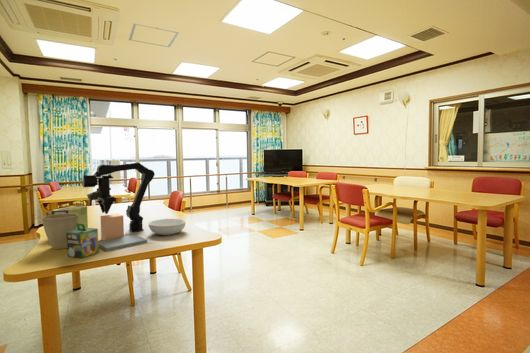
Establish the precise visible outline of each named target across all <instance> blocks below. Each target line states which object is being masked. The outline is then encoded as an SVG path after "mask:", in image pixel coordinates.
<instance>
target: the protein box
mask: <svg viewBox="0 0 530 353" xmlns="http://www.w3.org/2000/svg"><path fill="white" fill-rule="evenodd" d="M65 213H76V214H78V220H77V223H79V224H84V226H85V228H89V223H88V222H89V220H88V206H83V205H79V206H78V205H77V206H76V205H74V206H73V205H71V206H67V207H61V208H57V209H53V210H51V215H54V214H65ZM79 227H80V228H83V227H82V226H79ZM76 229H78V228H77V226H76Z"/></svg>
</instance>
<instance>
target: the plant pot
mask: <svg viewBox="0 0 530 353" xmlns="http://www.w3.org/2000/svg"><path fill="white" fill-rule="evenodd" d="M77 220H78V214H76V213H65V214H54V215H52V214H49V215H45V216H42V217H41V221H42V226H43V231H44V232H45V233H44V234H45V235H46V237H47V239H48V243H49V244H50V246H51V248H52V249H53V250H61V249H67V235H66V233H67V232H69V231H73V230H76V226H77V225H76V223H77Z"/></svg>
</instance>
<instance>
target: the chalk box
mask: <svg viewBox="0 0 530 353" xmlns="http://www.w3.org/2000/svg"><path fill="white" fill-rule="evenodd" d="M76 225H77V228H78V229H76V230H73V231H69V232H67V233H66V235H67V248H66V250H67V257H72V258H77V259H84V258H86V257H89V256H93V255H94V254H97V253H100V247H99V244H98V241H99V233H98V232H99V231H98V230H99V229H98V228H96V227H95V228H94V227H93V228H92V227H88V228H85V226H84V224H79V223H76ZM79 226H82V227H83V228H80V227H79Z"/></svg>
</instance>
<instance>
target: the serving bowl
mask: <svg viewBox="0 0 530 353" xmlns="http://www.w3.org/2000/svg"><path fill="white" fill-rule="evenodd" d="M148 227H149V230H150V231H151V232H152V233H154V234H157V235H161V236H171V235H175V234H177V233H179V232H181V231H183V230H184V228H185V227H186V220H185V219H182V218H180V219H179V218H162V219H161V218H160V219H157V220H156V219H155V220H153V221H150V222H148ZM170 234H171V235H170Z"/></svg>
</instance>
